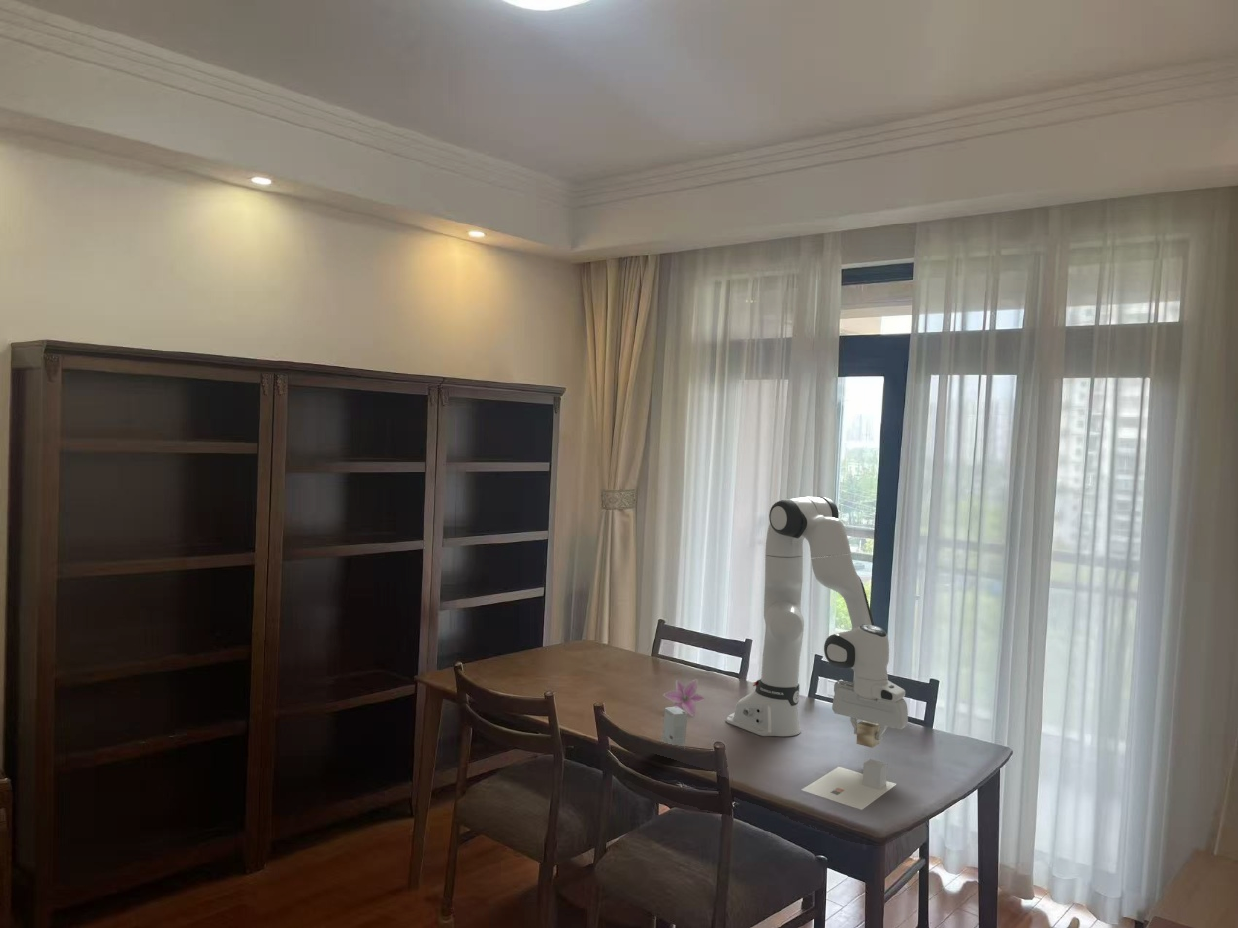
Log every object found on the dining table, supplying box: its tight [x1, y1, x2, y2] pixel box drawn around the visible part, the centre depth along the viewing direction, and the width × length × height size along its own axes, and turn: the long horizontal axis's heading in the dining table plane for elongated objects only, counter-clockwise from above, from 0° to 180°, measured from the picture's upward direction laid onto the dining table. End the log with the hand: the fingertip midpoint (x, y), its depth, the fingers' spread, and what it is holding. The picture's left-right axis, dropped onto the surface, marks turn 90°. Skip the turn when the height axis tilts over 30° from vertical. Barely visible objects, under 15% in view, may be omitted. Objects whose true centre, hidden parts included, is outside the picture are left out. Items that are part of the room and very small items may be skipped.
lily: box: [662, 678, 706, 718], centre depth 277 cm, size 12×12×10 cm
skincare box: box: [661, 706, 689, 747], centre depth 240 cm, size 6×4×12 cm
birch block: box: [855, 720, 881, 749], centre depth 237 cm, size 4×4×6 cm
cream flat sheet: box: [801, 766, 897, 811], centre depth 223 cm, size 16×22×1 cm
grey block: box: [862, 758, 888, 790], centre depth 225 cm, size 4×4×6 cm
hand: (868, 736), depth 237 cm, fingers closed on birch block, 4 cm apart
